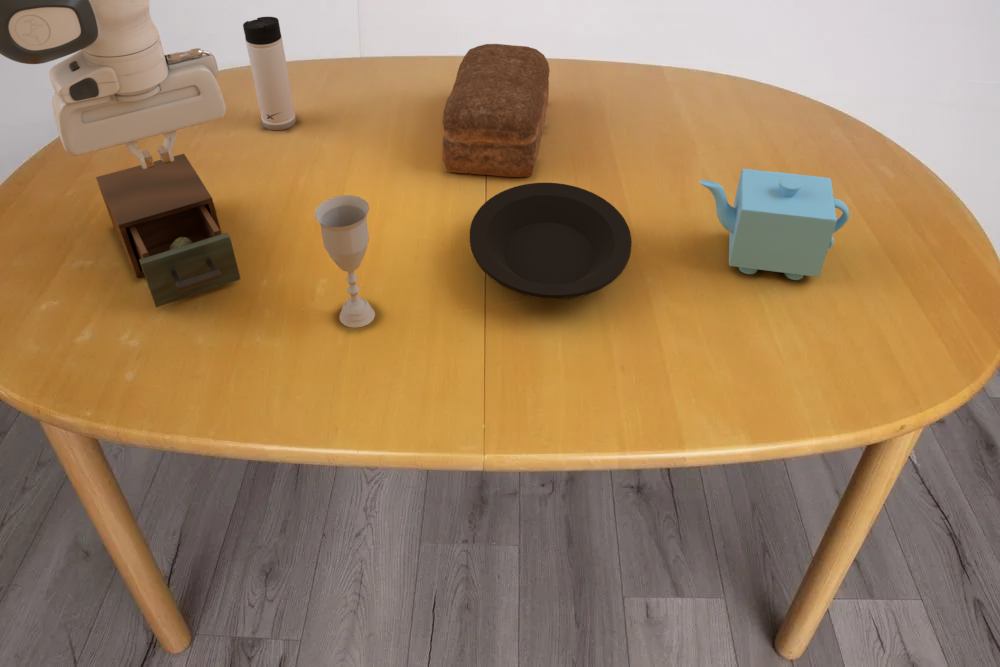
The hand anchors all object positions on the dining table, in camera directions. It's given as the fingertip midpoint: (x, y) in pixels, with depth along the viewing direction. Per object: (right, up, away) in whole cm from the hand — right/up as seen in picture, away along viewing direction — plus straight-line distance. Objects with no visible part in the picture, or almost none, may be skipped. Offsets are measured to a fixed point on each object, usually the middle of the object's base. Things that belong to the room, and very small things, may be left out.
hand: (157, 163), depth 115 cm
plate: (+52, -12, +19) cm, 57 cm away
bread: (+45, +14, +47) cm, 66 cm away
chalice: (+25, -20, +10) cm, 33 cm away
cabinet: (-7, -7, +23) cm, 25 cm away
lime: (-1, -13, +15) cm, 19 cm away
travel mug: (+3, +17, +50) cm, 53 cm away
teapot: (+85, -11, +20) cm, 88 cm away
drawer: (-1, -14, +15) cm, 20 cm away
